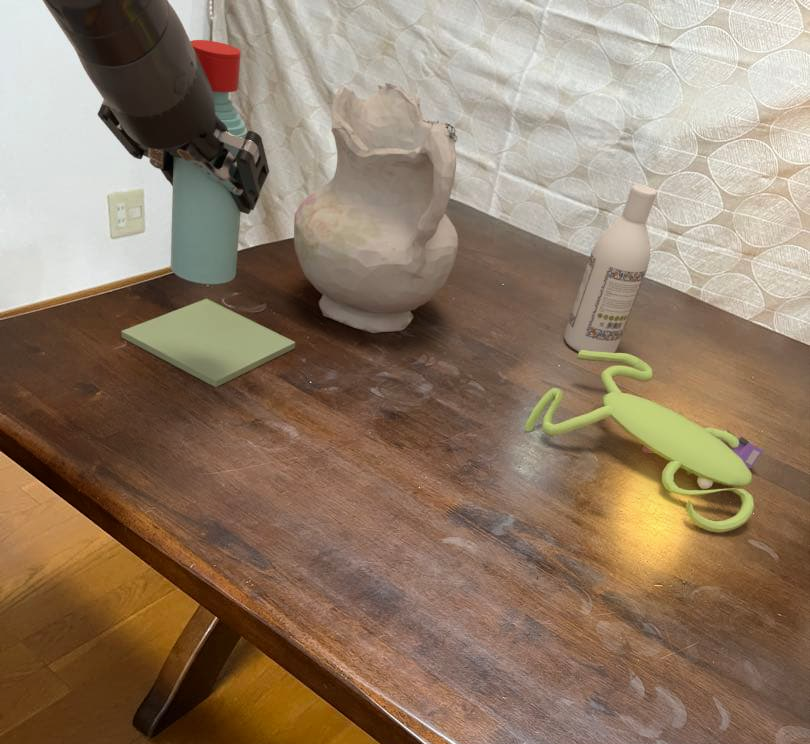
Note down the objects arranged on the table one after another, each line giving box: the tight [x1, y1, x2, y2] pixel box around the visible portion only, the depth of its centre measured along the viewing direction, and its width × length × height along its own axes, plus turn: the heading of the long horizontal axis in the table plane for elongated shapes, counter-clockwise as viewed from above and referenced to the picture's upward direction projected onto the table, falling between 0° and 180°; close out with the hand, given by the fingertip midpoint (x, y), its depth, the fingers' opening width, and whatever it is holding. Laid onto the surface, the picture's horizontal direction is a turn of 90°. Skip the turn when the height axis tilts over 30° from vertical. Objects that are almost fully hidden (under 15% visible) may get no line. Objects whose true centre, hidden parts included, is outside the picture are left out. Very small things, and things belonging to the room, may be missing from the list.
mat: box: [121, 298, 296, 388], centre depth 93 cm, size 13×13×1 cm
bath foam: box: [563, 184, 657, 353], centre depth 105 cm, size 7×7×20 cm
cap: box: [190, 39, 242, 93], centre depth 70 cm, size 4×4×3 cm
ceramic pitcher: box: [293, 82, 459, 334], centre depth 99 cm, size 22×20×25 cm
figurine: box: [524, 350, 764, 534], centre depth 92 cm, size 18×27×6 cm
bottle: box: [170, 91, 248, 285], centre depth 76 cm, size 6×6×18 cm
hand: (216, 193), depth 78 cm, fingers closed on bottle, 6 cm apart
